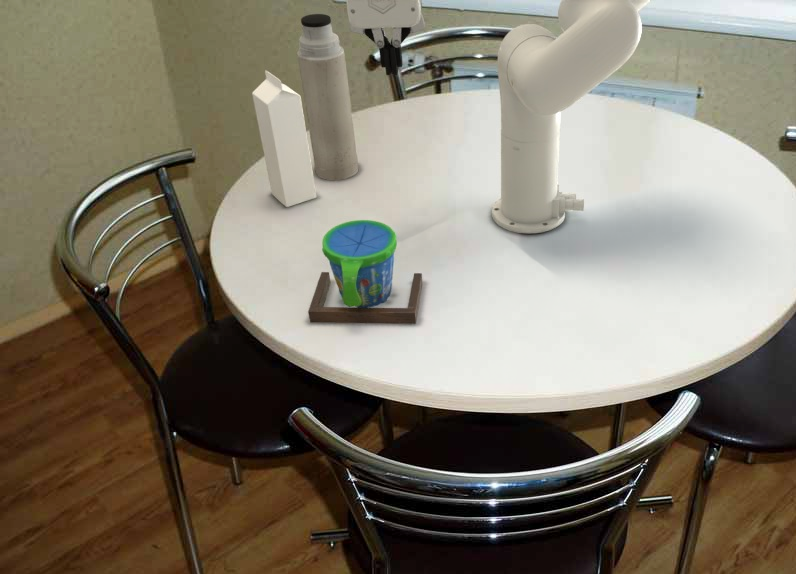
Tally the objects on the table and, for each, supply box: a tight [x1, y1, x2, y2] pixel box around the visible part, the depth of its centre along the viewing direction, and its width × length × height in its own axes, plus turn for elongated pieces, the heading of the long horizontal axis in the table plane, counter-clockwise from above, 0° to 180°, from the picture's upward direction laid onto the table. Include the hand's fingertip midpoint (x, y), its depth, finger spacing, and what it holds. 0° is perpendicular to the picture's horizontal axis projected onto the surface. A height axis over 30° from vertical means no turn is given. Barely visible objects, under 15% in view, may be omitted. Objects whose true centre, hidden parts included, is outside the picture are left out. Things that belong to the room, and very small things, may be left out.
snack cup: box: [321, 219, 398, 308], centre depth 123 cm, size 16×10×10 cm
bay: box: [307, 271, 424, 325], centre depth 124 cm, size 15×10×2 cm, turn 89°
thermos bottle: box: [296, 13, 359, 181], centre depth 148 cm, size 8×8×28 cm
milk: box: [251, 69, 317, 208], centre depth 143 cm, size 6×6×22 cm
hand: (392, 71), depth 123 cm, fingers closed
